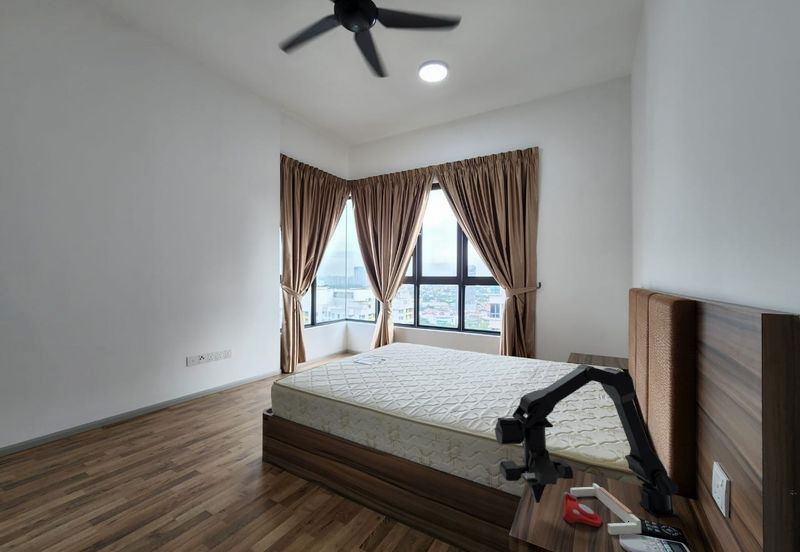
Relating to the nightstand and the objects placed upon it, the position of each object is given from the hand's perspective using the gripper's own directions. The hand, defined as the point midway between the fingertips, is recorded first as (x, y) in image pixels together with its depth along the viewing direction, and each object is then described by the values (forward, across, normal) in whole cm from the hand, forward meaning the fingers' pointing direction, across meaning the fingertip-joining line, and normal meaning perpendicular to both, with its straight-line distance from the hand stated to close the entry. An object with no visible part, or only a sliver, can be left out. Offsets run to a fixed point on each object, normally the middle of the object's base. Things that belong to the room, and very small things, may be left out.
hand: (537, 502), depth 94 cm
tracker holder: (+4, +12, -1) cm, 12 cm away
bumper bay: (+3, +18, 0) cm, 19 cm away
